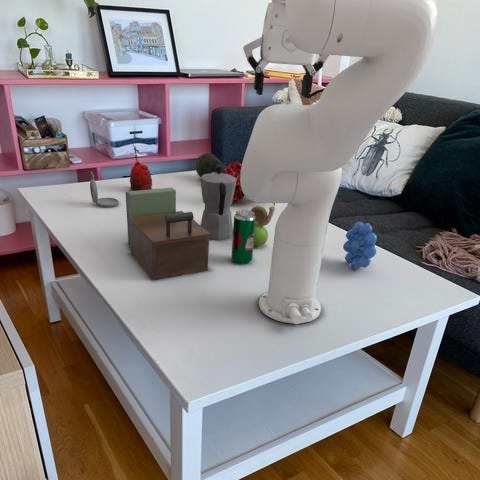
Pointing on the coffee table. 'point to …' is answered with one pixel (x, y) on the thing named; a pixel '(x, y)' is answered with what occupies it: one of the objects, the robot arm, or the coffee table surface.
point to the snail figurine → (261, 224)
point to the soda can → (243, 236)
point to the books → (149, 203)
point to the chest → (169, 255)
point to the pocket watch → (102, 201)
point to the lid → (169, 227)
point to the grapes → (360, 245)
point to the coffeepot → (217, 203)
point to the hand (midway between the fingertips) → (282, 95)
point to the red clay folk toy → (140, 176)
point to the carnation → (208, 165)
